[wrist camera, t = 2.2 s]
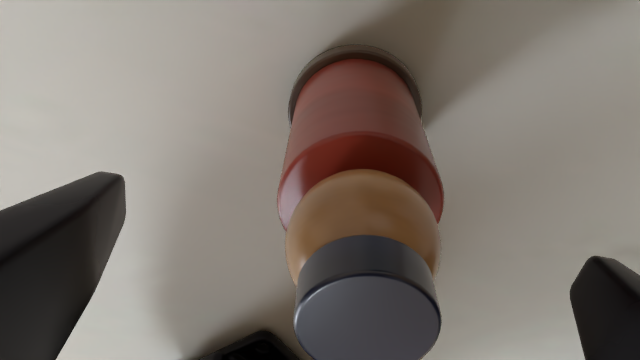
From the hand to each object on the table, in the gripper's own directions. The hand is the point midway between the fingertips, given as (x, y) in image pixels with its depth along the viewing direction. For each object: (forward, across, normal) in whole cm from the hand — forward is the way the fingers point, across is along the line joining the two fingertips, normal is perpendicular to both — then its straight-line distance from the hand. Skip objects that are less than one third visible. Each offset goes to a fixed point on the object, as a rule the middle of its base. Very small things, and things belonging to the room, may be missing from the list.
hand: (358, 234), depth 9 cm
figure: (+6, 0, 0) cm, 6 cm away
